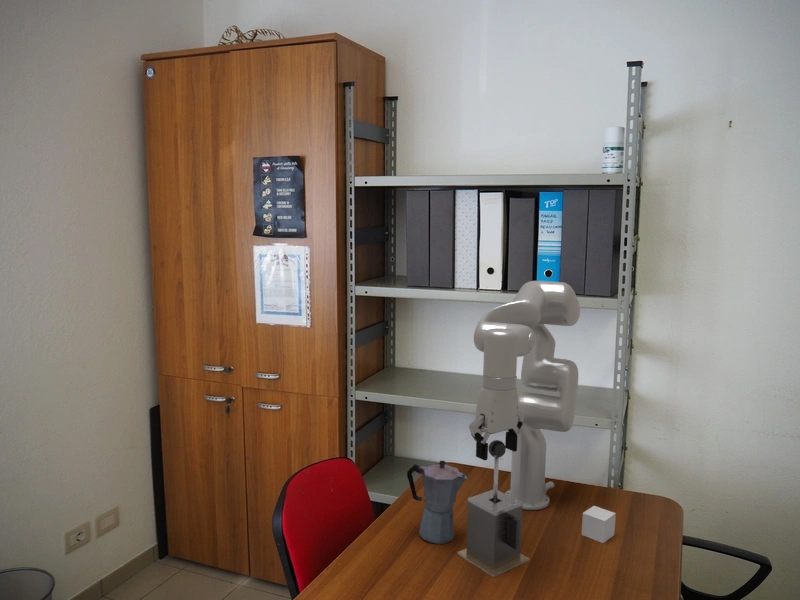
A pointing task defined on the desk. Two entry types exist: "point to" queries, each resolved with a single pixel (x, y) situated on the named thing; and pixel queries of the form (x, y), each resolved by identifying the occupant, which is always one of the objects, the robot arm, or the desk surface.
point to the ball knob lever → (496, 463)
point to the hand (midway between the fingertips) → (496, 454)
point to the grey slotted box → (494, 533)
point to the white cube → (598, 524)
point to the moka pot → (437, 500)
